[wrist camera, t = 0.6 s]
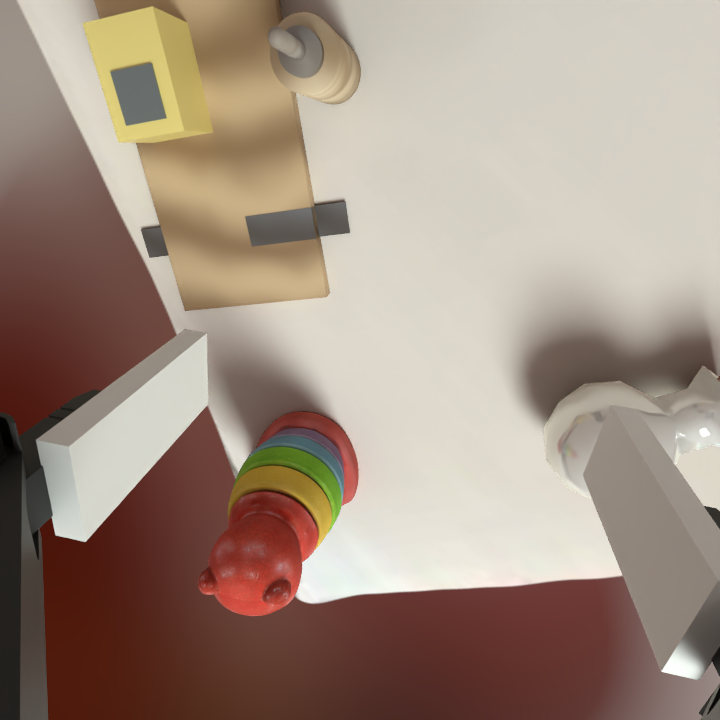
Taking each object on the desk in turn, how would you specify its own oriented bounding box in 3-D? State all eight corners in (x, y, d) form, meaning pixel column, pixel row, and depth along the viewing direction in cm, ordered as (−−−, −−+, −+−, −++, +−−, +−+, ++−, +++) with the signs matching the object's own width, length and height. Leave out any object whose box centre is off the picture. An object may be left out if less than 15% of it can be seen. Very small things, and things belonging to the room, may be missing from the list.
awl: (301, 46, 35) (224, -7, 23) (356, 34, 34) (306, -27, 22) (311, 108, 36) (244, 90, 24) (364, 99, 35) (322, 75, 23)
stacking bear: (254, 481, 51) (166, 635, 35) (258, 398, 47) (160, 529, 31) (354, 503, 50) (311, 672, 34) (368, 420, 46) (326, 568, 30)
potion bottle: (520, 409, 45) (693, 356, 42) (561, 517, 42) (748, 468, 39) (528, 393, 36) (746, 325, 33) (580, 528, 33) (823, 466, 30)
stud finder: (124, 37, 35) (80, 22, 31) (187, 22, 34) (151, 5, 30) (154, 142, 38) (117, 142, 33) (213, 132, 37) (183, 130, 32)
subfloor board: (60, -38, 35) (47, -44, 34) (300, -104, 31) (294, -113, 30) (166, 309, 45) (159, 313, 44) (358, 290, 41) (355, 294, 40)
